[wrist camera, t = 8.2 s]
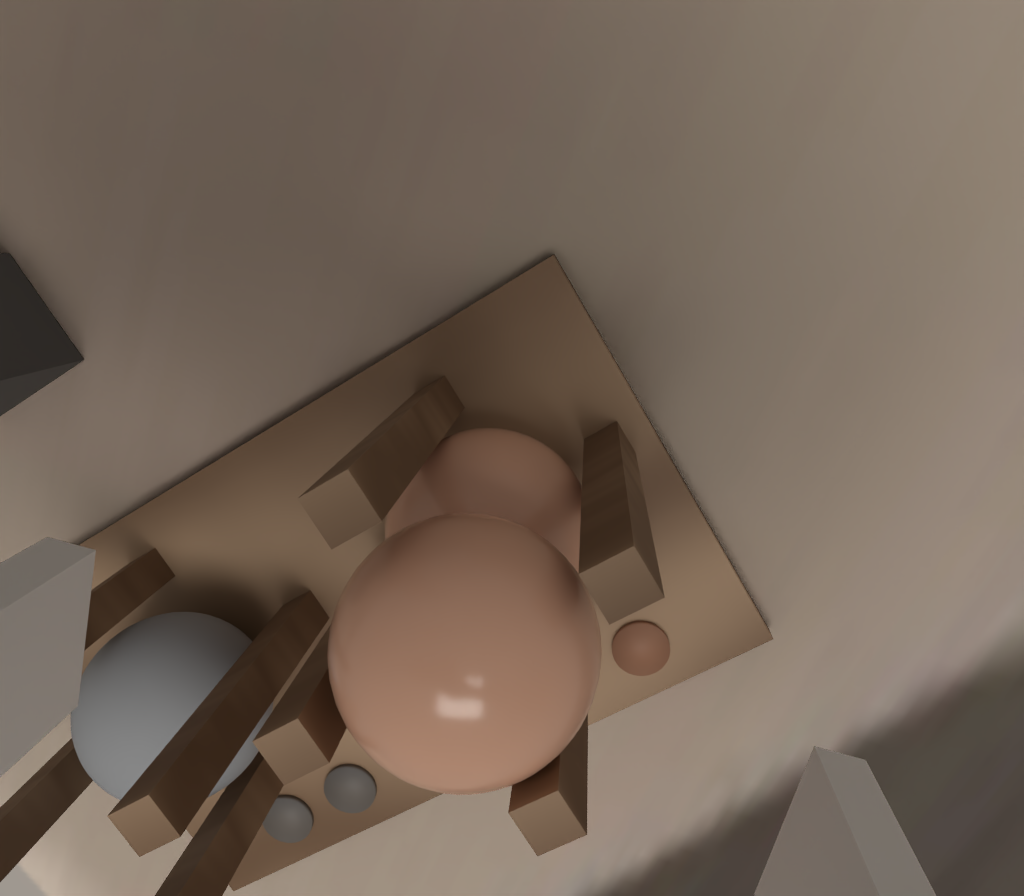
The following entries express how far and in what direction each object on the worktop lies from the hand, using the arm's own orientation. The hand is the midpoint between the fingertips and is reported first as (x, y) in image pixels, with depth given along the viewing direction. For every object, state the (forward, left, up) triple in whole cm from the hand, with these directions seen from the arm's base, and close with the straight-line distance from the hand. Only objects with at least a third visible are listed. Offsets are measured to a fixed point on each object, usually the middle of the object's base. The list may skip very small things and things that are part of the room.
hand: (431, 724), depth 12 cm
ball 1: (0, -10, -10) cm, 14 cm away
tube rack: (+1, -5, -11) cm, 12 cm away
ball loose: (0, 0, -3) cm, 3 cm away
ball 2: (0, 0, -10) cm, 10 cm away
